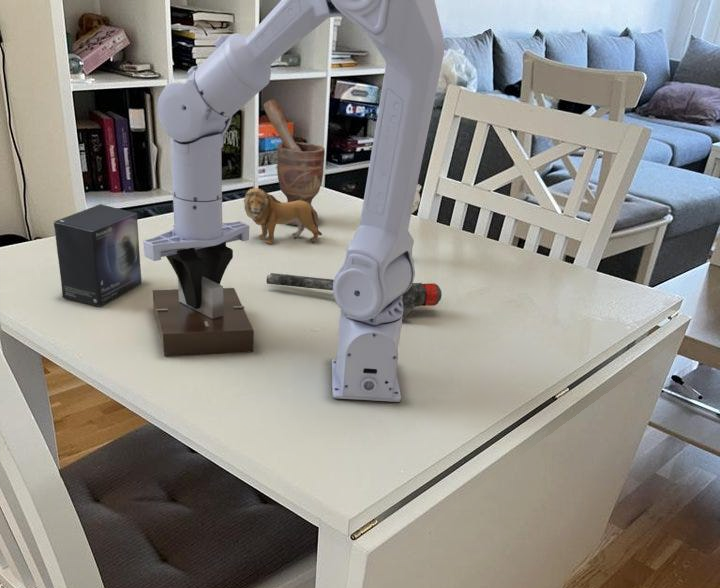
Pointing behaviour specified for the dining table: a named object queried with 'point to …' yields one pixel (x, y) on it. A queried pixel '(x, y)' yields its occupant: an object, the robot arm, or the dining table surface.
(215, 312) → the tap handle
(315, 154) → the mortar and pestle
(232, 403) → the dining table surface
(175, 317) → the block
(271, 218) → the lion figurine
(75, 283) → the small box
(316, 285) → the grey and red tool
